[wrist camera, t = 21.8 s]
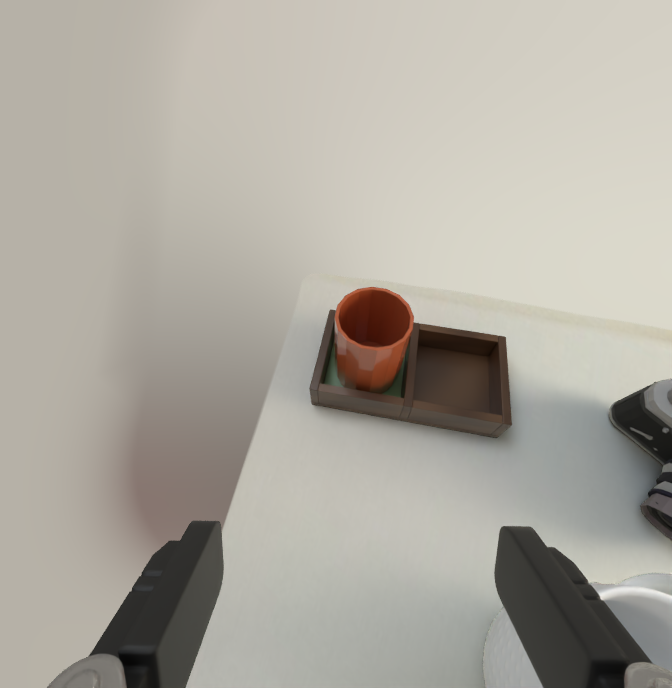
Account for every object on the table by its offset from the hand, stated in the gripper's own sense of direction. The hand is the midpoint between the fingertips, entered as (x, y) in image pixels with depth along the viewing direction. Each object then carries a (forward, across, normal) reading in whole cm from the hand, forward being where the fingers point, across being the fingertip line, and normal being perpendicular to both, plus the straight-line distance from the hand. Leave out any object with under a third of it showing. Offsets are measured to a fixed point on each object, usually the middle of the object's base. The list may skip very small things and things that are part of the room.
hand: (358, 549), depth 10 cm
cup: (+28, -2, +3) cm, 28 cm away
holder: (+28, -7, +4) cm, 29 cm away
